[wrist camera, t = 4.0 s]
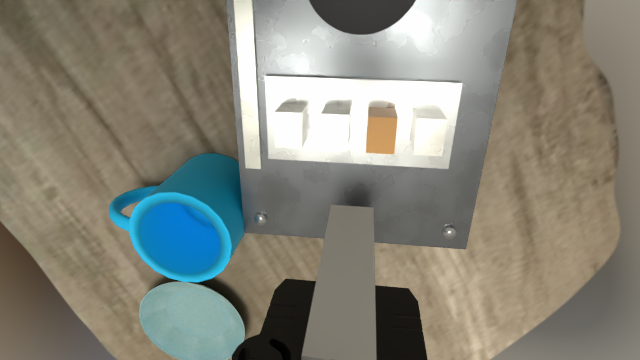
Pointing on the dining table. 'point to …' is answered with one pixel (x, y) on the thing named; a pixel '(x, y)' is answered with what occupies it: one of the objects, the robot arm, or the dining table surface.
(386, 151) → the orange cube
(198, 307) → the saucer
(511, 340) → the dining table surface
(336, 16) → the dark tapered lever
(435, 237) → the breaker panel
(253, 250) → the dining table surface
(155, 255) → the mug
